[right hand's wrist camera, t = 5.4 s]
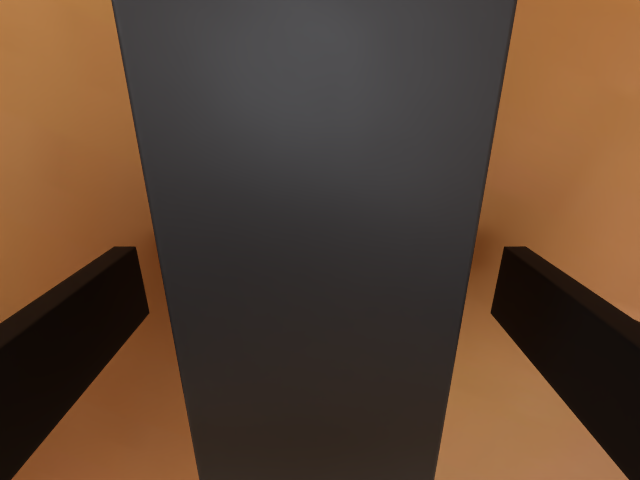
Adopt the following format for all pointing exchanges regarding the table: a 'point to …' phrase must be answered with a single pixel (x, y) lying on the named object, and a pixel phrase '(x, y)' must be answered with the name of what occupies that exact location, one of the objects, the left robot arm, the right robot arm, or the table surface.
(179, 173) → the bar
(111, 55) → the table surface
